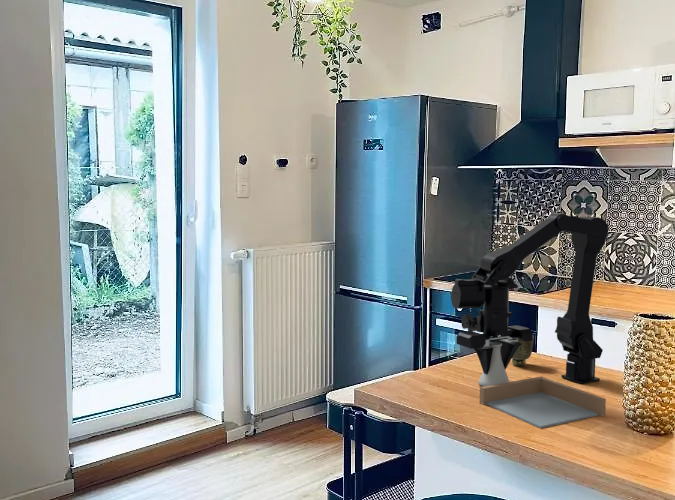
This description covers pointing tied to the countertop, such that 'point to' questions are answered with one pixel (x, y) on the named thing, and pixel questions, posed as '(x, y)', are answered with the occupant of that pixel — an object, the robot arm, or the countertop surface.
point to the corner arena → (542, 401)
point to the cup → (522, 352)
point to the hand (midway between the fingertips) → (494, 372)
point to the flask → (494, 368)
